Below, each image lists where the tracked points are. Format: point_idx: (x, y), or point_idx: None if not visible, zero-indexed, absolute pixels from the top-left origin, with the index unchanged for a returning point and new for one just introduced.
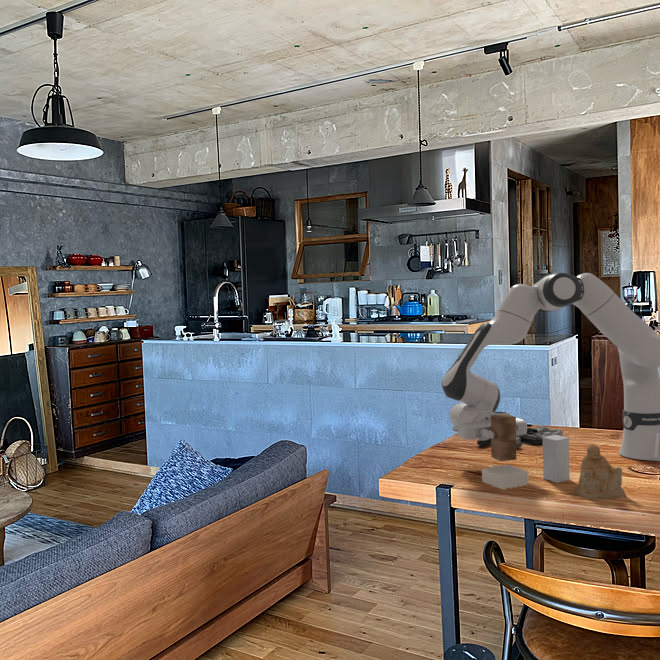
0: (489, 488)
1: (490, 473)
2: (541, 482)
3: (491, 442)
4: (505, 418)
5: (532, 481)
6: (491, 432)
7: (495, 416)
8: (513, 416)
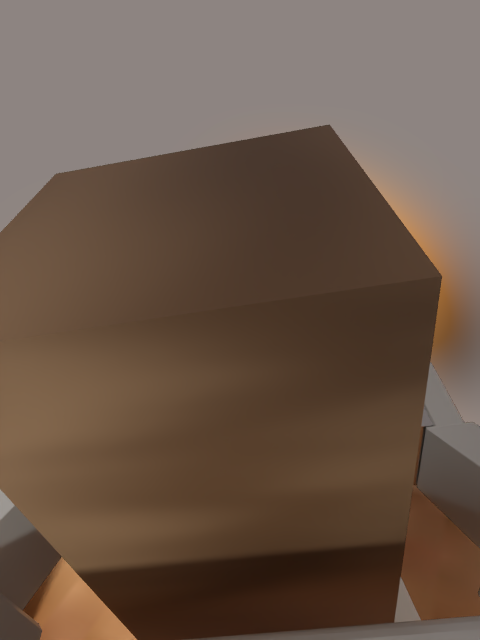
0: (427, 567)
1: (412, 607)
2: (85, 587)
3: (391, 614)
4: (227, 151)
5: (112, 627)
6: (432, 365)
7: (345, 186)
8: (49, 190)
